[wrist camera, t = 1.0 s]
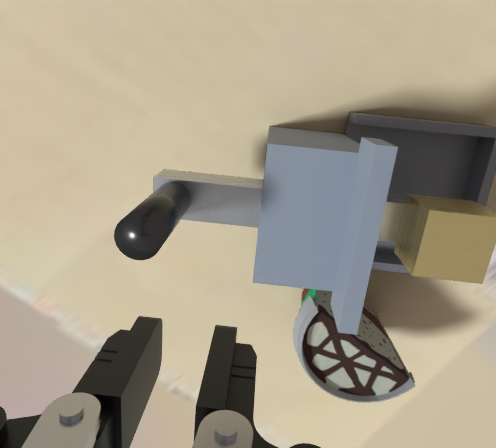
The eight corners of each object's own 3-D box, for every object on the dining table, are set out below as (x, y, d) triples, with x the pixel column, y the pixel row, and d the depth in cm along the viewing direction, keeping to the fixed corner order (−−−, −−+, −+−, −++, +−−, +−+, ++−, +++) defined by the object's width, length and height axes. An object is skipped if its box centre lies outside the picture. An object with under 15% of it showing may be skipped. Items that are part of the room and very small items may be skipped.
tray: (349, 111, 36) (357, 114, 33) (486, 125, 36) (508, 129, 32) (325, 250, 41) (329, 264, 37) (446, 263, 40) (462, 279, 37)
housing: (270, 115, 36) (269, 133, 21) (345, 122, 36) (398, 147, 21) (257, 234, 40) (248, 322, 25) (324, 241, 40) (356, 334, 25)
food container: (266, 296, 43) (264, 354, 33) (303, 257, 41) (312, 307, 32) (348, 358, 45) (368, 429, 35) (387, 323, 43) (419, 389, 34)
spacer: (407, 193, 28) (429, 210, 24) (472, 200, 27) (503, 218, 24) (394, 251, 29) (412, 276, 25) (454, 258, 29) (482, 283, 25)
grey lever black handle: (164, 169, 31) (109, 209, 21) (479, 202, 30) (586, 260, 20) (163, 205, 32) (111, 260, 22) (468, 237, 31) (565, 310, 21)
